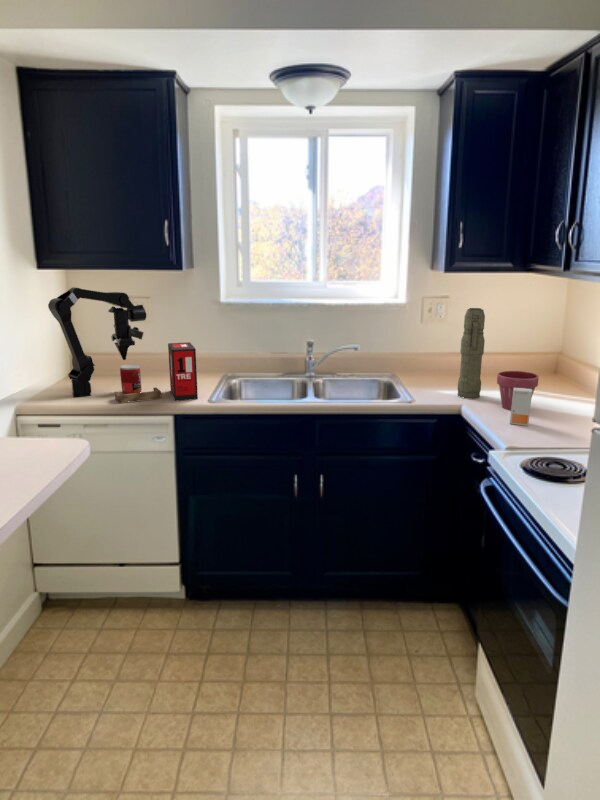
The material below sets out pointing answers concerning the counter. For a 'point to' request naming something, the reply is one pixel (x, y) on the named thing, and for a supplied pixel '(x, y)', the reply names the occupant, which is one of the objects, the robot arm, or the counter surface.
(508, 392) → the plant pot
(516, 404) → the skincare box
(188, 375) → the cleaning product box
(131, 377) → the canned food
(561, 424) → the counter surface
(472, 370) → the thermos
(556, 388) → the counter surface
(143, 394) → the tan bone-shaped block
